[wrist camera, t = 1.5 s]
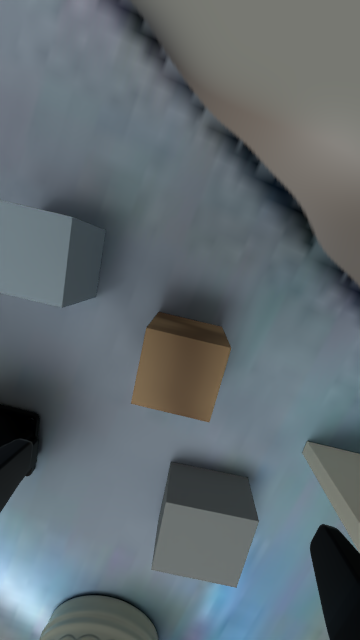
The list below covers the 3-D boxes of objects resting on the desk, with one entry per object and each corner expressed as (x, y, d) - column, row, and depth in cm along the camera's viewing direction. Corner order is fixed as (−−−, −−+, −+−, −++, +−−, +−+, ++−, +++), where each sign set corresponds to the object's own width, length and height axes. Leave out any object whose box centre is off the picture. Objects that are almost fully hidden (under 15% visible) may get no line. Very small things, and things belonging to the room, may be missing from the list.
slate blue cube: (34, 281, 19) (-23, 287, 14) (40, 214, 18) (-20, 195, 13) (96, 296, 19) (61, 307, 14) (106, 230, 18) (72, 216, 13)
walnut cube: (146, 369, 20) (130, 403, 15) (158, 311, 19) (146, 327, 14) (205, 383, 20) (209, 422, 15) (221, 326, 19) (231, 348, 14)
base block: (158, 519, 23) (151, 569, 20) (171, 459, 22) (166, 502, 18) (229, 533, 23) (236, 587, 19) (247, 475, 22) (258, 521, 18)
